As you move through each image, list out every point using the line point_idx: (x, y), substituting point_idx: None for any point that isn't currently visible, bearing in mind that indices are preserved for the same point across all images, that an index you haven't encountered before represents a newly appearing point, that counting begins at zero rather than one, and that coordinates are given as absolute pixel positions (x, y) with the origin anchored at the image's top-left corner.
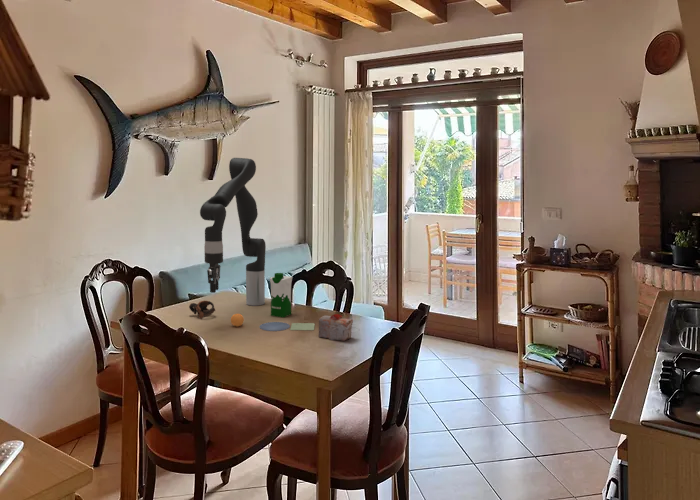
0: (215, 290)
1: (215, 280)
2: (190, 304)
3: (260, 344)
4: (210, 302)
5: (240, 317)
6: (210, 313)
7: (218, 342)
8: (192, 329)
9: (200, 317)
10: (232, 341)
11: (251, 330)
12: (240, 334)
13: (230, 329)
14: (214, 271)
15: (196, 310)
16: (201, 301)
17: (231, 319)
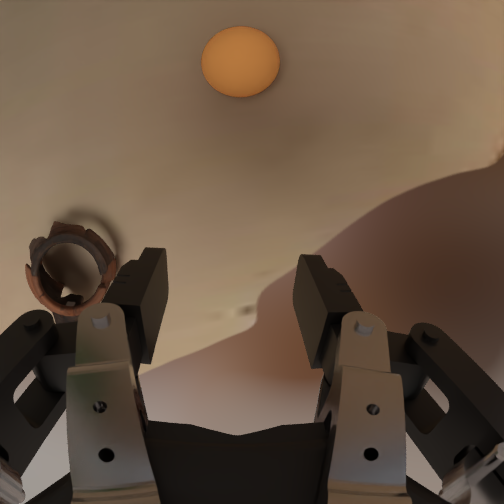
0: (316, 261)
1: (369, 347)
2: None
3: (474, 16)
4: (38, 263)
5: (266, 38)
6: (92, 235)
7: (455, 146)
8: (281, 266)
9: (115, 269)
10: (451, 96)
11: (317, 4)
12: (376, 54)
13: (296, 95)
14: (436, 496)
15: (67, 301)
16: (52, 307)
17: (260, 90)
